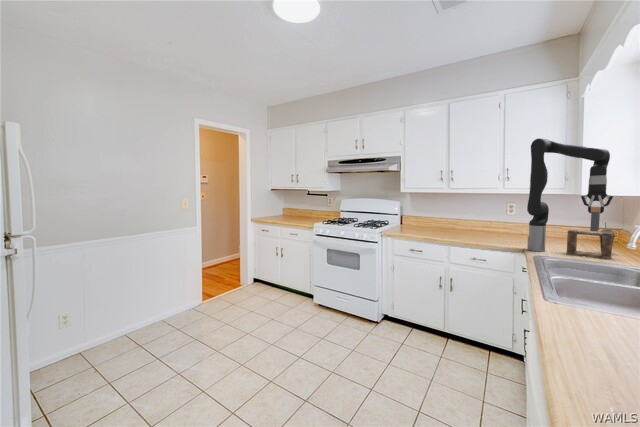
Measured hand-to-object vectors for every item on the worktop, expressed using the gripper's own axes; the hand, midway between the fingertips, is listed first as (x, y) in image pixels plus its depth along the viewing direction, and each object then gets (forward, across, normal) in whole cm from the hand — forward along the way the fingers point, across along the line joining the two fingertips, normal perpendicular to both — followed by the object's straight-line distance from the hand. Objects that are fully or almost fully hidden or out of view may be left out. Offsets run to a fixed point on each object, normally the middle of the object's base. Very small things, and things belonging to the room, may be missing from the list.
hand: (595, 213), depth 169 cm
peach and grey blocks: (+10, 0, 0) cm, 10 cm away
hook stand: (+28, -3, +11) cm, 30 cm away
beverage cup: (+28, +4, +28) cm, 40 cm away
